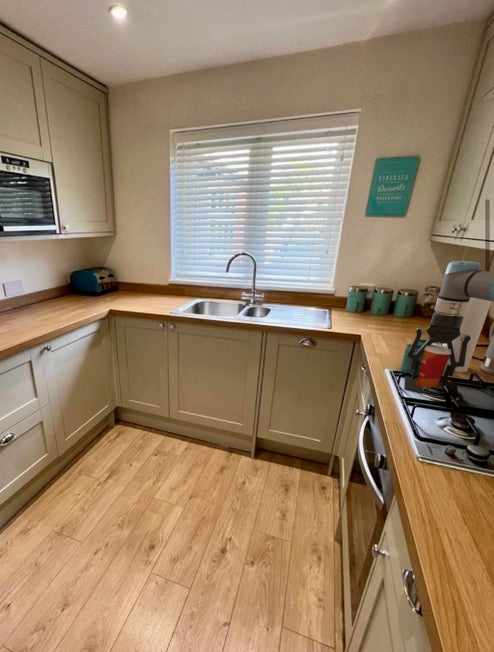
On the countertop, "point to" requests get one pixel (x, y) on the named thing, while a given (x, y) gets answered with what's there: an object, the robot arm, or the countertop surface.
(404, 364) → the teal cup
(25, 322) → the countertop surface
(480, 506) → the countertop surface
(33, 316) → the countertop surface
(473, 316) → the paper towel roll
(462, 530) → the countertop surface
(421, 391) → the mat
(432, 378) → the paper cup
